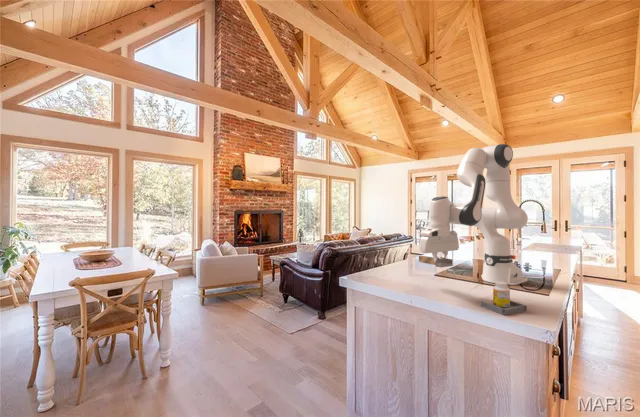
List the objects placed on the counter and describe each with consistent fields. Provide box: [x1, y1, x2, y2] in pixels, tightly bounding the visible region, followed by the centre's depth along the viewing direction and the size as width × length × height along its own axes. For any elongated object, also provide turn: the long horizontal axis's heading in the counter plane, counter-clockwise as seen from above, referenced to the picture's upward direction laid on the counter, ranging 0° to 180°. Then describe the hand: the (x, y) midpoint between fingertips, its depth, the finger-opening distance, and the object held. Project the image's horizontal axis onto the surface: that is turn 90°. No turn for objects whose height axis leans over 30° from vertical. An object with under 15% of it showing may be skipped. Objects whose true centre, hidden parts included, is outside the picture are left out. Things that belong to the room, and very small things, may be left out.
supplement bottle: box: [492, 281, 511, 309], centre depth 112 cm, size 6×6×10 cm
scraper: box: [418, 255, 453, 268], centre depth 134 cm, size 17×7×3 cm, turn 20°
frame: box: [480, 299, 527, 316], centre depth 111 cm, size 12×10×2 cm
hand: (439, 261), depth 130 cm, fingers closed on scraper, 2 cm apart
